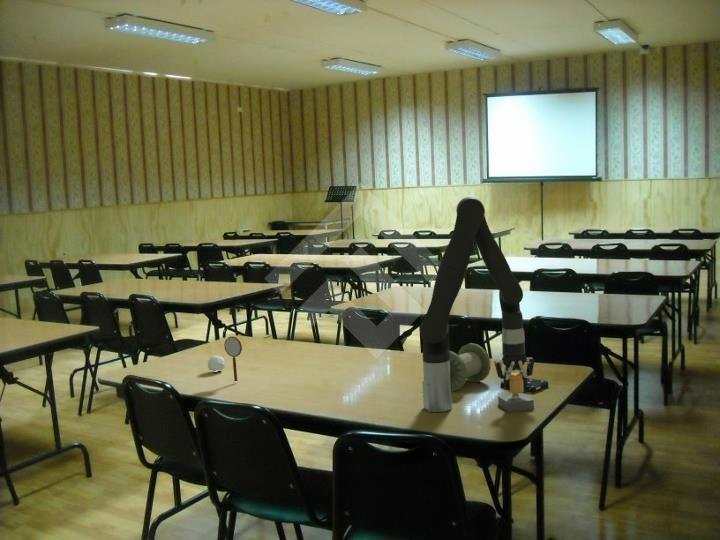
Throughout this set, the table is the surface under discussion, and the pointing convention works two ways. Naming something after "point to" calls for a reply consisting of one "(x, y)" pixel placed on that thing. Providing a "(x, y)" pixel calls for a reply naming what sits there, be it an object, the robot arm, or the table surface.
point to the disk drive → (532, 385)
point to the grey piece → (516, 402)
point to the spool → (468, 365)
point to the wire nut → (516, 383)
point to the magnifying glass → (233, 351)
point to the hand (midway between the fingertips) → (515, 388)
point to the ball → (216, 363)
